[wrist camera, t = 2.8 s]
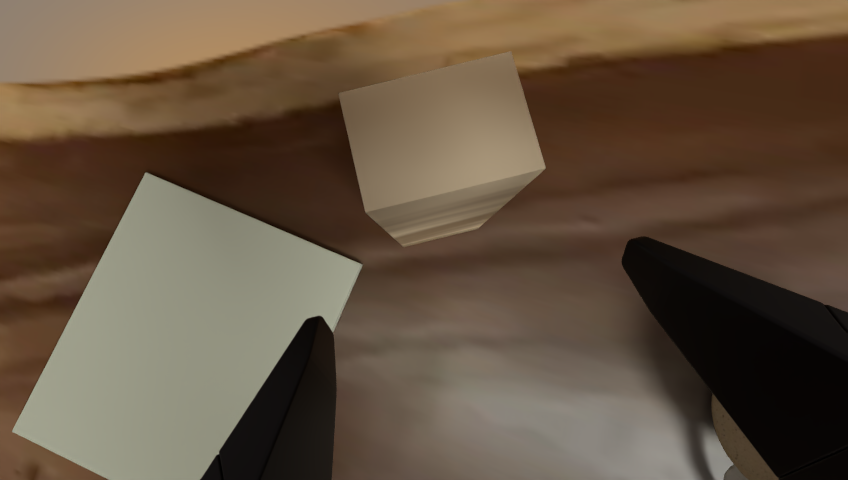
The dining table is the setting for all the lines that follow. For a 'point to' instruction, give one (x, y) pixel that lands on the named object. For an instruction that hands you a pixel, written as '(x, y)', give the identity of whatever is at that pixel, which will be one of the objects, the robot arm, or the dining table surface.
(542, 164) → the beige rectangular block
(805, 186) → the dining table surface
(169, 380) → the sage placemat
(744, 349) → the robot arm
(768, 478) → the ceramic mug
